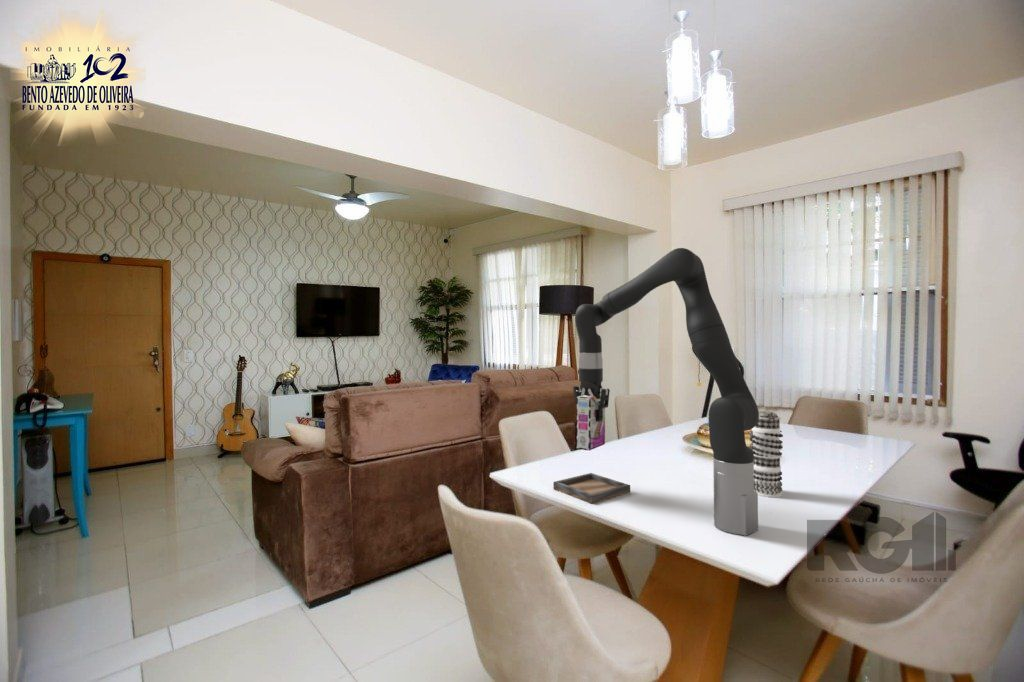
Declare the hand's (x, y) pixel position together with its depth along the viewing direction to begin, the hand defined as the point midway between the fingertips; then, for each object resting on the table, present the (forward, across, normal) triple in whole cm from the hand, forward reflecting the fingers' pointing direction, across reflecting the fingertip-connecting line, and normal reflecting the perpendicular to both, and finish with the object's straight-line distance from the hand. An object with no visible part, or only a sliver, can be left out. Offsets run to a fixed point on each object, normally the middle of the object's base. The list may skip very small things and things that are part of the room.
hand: (591, 419), depth 145 cm
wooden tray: (+23, 0, 0) cm, 23 cm away
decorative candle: (+23, -34, -42) cm, 58 cm away
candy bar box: (+9, 0, 0) cm, 9 cm away
